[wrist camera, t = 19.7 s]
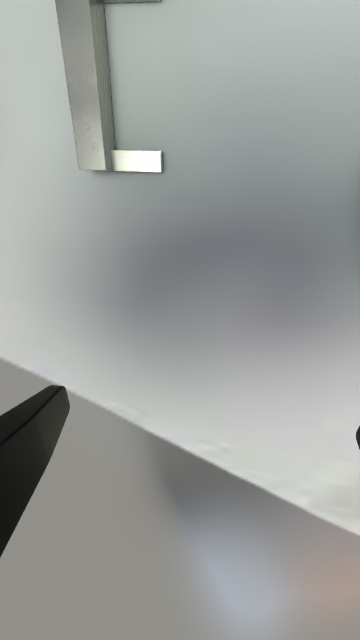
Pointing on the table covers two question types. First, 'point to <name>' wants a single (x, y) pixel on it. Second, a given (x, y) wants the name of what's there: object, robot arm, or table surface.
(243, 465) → the table surface
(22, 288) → the table surface
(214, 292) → the table surface
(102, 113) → the pair of grey brackets
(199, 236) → the table surface
